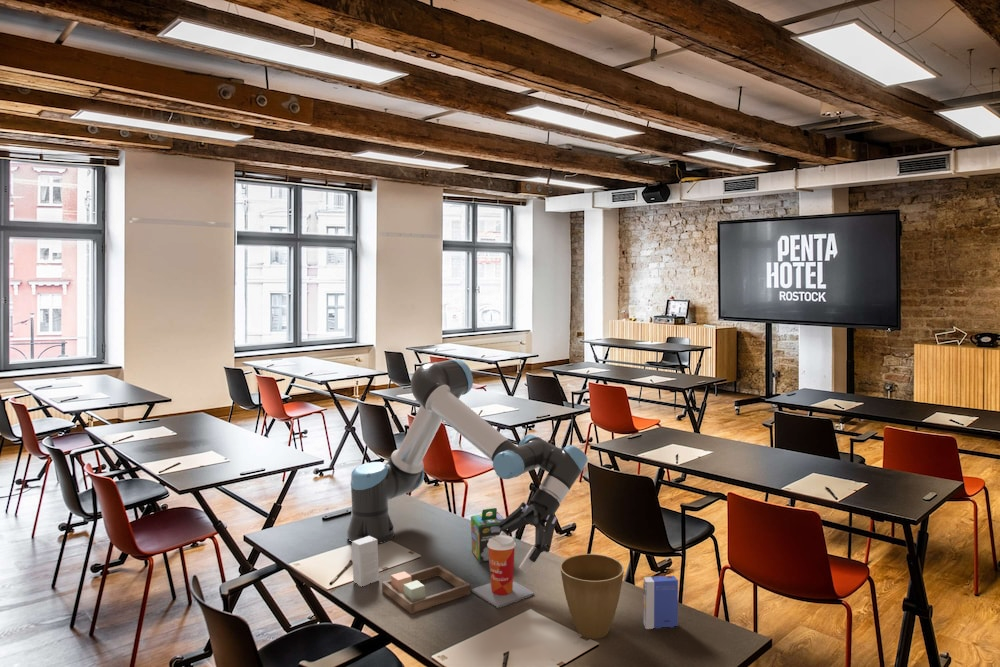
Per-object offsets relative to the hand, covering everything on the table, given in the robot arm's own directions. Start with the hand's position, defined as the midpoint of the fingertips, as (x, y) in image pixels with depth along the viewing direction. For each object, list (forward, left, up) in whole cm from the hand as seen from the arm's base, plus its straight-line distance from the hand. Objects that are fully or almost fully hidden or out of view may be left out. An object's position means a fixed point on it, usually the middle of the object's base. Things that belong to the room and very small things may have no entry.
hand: (506, 562), depth 185 cm
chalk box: (-23, +11, -9) cm, 27 cm away
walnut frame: (-13, -17, -8) cm, 23 cm away
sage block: (-10, -23, -8) cm, 26 cm away
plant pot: (+29, +4, -9) cm, 30 cm away
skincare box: (-29, -27, -9) cm, 41 cm away
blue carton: (+37, +19, -9) cm, 42 cm away
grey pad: (0, -1, -8) cm, 8 cm away
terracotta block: (-17, -23, -8) cm, 29 cm away
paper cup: (-1, -1, -8) cm, 8 cm away
